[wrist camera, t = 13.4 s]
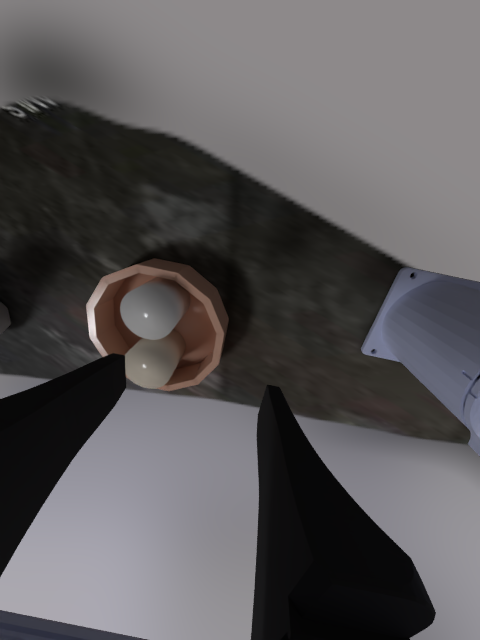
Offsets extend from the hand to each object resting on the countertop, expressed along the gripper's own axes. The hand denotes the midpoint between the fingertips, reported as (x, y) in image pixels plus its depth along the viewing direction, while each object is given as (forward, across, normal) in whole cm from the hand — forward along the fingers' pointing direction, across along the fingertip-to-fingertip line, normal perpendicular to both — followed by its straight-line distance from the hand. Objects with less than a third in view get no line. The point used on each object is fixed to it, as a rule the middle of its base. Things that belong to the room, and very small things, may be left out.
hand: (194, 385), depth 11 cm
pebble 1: (+10, +5, 0) cm, 11 cm away
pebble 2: (+10, +5, +4) cm, 12 cm away
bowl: (+10, +5, +2) cm, 11 cm away
